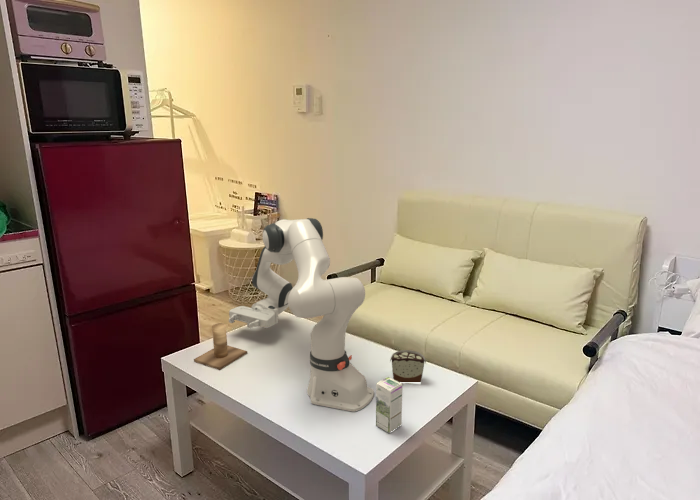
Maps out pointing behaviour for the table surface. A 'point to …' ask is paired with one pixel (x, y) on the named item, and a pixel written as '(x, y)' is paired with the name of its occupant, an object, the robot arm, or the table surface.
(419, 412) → the table surface
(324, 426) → the table surface
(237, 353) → the board
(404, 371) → the muffin
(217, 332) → the oak roller
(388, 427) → the syrup box
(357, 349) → the table surface
